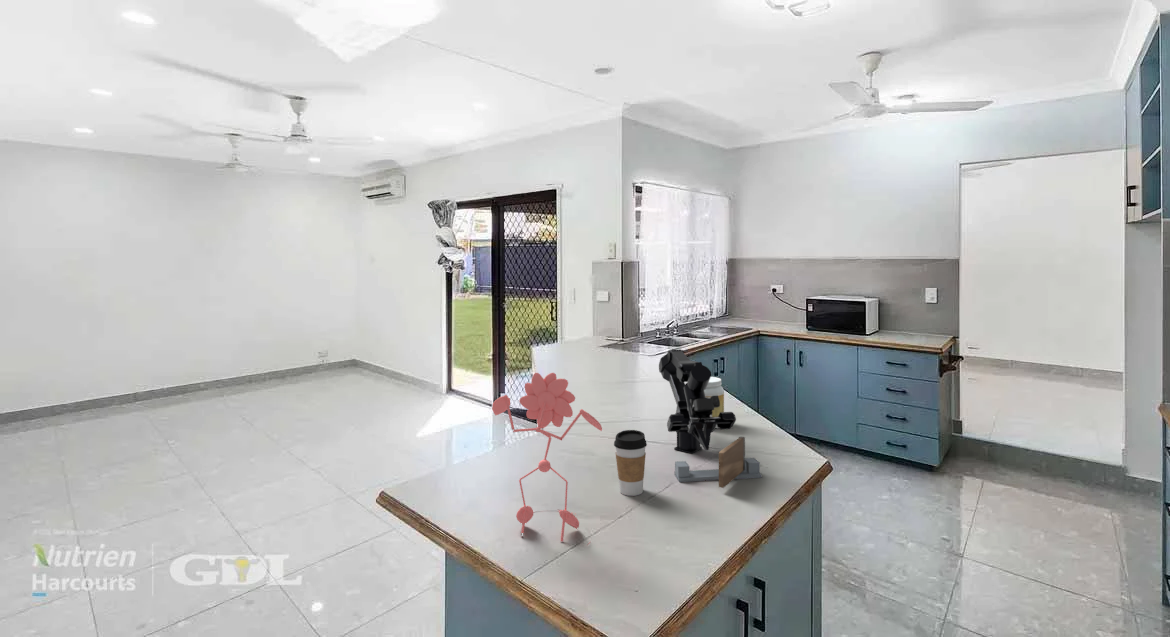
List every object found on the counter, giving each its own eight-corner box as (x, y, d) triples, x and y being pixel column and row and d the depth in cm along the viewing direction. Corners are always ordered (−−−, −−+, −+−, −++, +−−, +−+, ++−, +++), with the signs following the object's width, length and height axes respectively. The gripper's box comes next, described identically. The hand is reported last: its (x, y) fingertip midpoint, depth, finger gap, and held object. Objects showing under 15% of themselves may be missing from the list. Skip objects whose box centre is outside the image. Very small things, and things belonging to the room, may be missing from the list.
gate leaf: (718, 486, 137) (717, 452, 137) (740, 468, 150) (740, 436, 149) (724, 488, 136) (723, 453, 136) (745, 469, 149) (745, 437, 148)
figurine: (599, 548, 111) (595, 379, 109) (485, 535, 118) (479, 376, 116) (616, 517, 126) (613, 367, 124) (513, 506, 133) (508, 365, 131)
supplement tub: (688, 420, 203) (688, 375, 202) (722, 420, 201) (722, 375, 200) (690, 429, 191) (690, 382, 190) (726, 430, 189) (726, 382, 188)
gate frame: (674, 475, 150) (674, 460, 150) (754, 470, 151) (754, 456, 151) (678, 482, 145) (678, 467, 145) (761, 477, 146) (761, 463, 146)
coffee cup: (650, 486, 142) (649, 430, 141) (643, 499, 134) (642, 440, 133) (619, 483, 145) (618, 428, 144) (611, 496, 137) (609, 438, 136)
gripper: (669, 386, 152) (678, 437, 143) (734, 384, 154) (748, 434, 144) (663, 406, 161) (672, 455, 151) (724, 403, 162) (737, 452, 153)
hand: (707, 449), depth 149 cm, fingers closed
